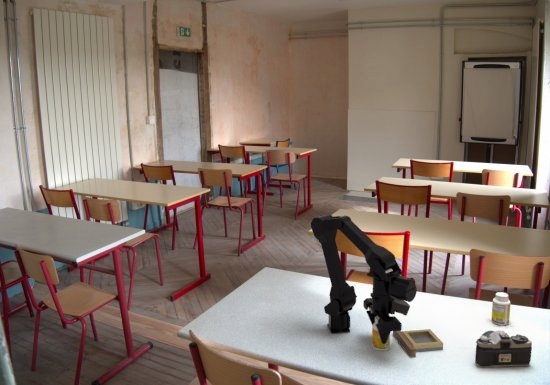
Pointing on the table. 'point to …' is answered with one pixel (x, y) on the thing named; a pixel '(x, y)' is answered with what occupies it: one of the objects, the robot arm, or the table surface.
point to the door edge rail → (405, 343)
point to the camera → (502, 350)
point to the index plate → (424, 340)
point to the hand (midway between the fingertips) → (380, 339)
